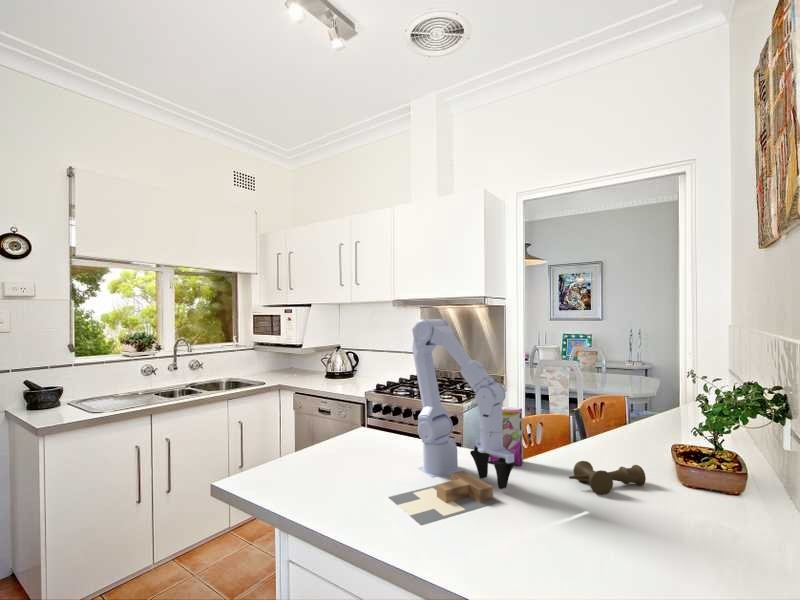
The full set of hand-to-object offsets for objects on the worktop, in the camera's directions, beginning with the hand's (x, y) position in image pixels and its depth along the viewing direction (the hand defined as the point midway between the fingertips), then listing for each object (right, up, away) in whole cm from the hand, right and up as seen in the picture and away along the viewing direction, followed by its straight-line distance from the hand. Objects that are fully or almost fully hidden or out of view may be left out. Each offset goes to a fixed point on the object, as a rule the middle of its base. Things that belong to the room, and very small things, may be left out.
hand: (492, 482), depth 110 cm
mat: (-14, -1, -7) cm, 16 cm away
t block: (-9, -1, -5) cm, 11 cm away
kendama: (+29, -1, 0) cm, 29 cm away
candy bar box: (+8, -2, +19) cm, 20 cm away
